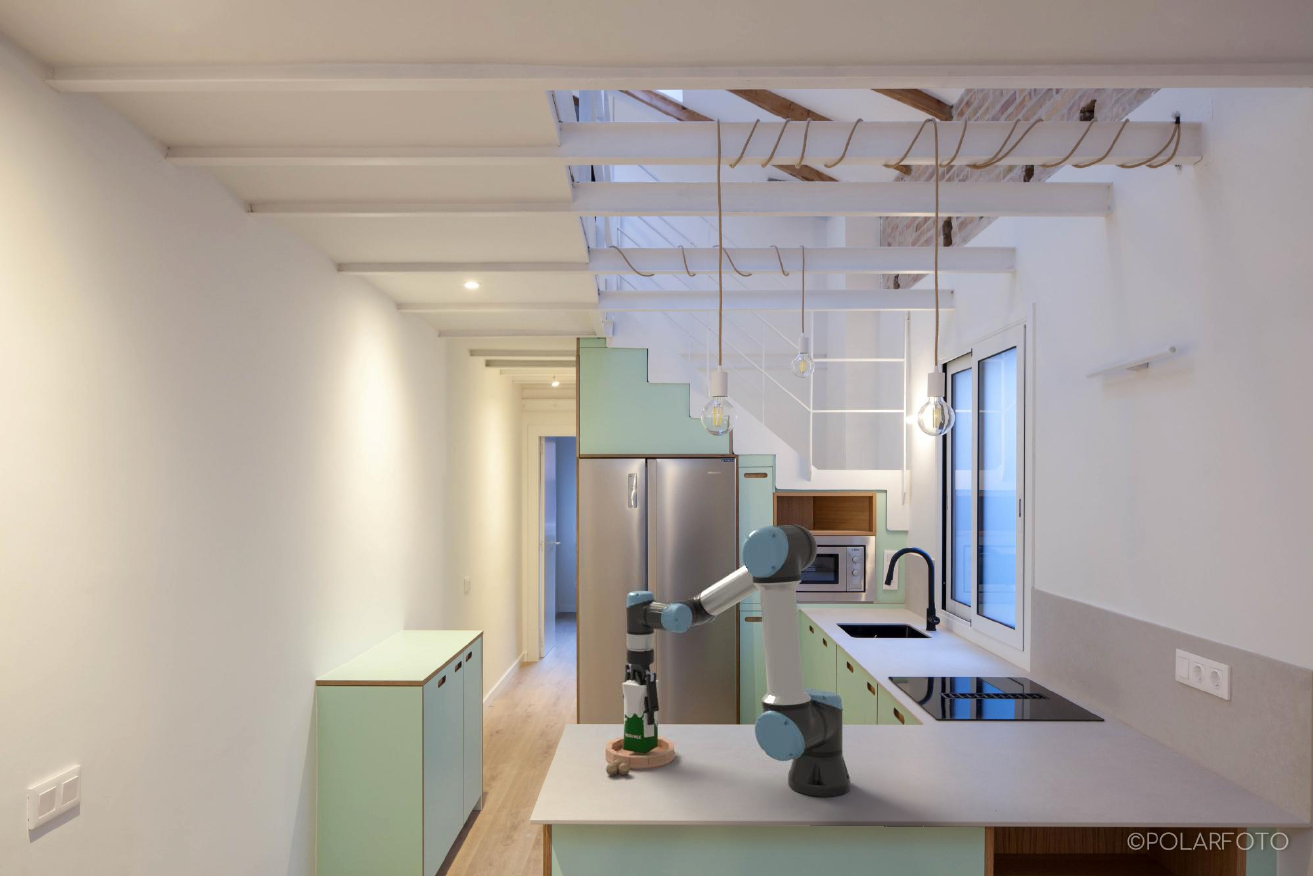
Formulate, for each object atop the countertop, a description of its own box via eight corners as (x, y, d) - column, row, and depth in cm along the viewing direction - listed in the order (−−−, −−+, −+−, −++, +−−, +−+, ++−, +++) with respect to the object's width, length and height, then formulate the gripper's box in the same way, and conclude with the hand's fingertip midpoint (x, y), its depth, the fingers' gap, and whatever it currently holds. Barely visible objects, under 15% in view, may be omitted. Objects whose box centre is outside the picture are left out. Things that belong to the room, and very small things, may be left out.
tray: (687, 761, 222) (687, 750, 222) (624, 774, 213) (624, 762, 213) (653, 742, 238) (653, 731, 239) (594, 752, 229) (594, 741, 229)
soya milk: (662, 746, 227) (662, 672, 228) (646, 755, 219) (646, 679, 220) (634, 741, 232) (634, 669, 233) (618, 750, 224) (618, 676, 225)
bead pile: (631, 775, 211) (631, 764, 211) (611, 779, 209) (611, 767, 209) (621, 768, 217) (621, 757, 217) (601, 772, 214) (601, 760, 214)
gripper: (672, 654, 219) (672, 740, 218) (634, 640, 238) (634, 719, 237) (647, 657, 216) (647, 744, 214) (610, 642, 235) (610, 723, 233)
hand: (640, 731), depth 226 cm, fingers closed on soya milk, 9 cm apart
